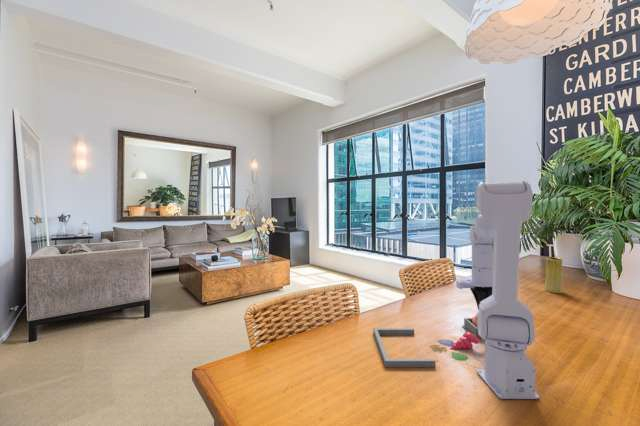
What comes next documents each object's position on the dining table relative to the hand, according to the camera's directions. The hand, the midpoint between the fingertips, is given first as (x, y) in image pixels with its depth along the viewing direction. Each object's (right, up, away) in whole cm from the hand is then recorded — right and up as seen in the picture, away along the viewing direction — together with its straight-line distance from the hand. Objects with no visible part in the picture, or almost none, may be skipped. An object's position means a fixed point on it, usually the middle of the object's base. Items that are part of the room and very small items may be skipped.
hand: (482, 311), depth 87 cm
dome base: (0, -6, 0) cm, 6 cm away
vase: (+52, -4, +38) cm, 65 cm away
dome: (0, -5, 0) cm, 5 cm away
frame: (-26, -7, -8) cm, 28 cm away
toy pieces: (-13, -8, -9) cm, 17 cm away
